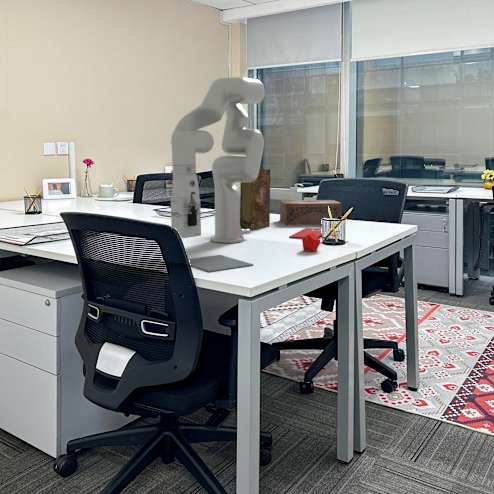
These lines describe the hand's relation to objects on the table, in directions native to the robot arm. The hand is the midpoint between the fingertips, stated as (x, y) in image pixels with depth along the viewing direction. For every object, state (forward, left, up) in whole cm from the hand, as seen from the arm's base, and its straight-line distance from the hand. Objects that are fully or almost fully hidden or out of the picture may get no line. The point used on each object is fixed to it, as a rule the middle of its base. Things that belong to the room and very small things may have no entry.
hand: (185, 223), depth 190 cm
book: (-55, -34, -10) cm, 65 cm away
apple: (-38, +19, -10) cm, 44 cm away
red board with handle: (-66, -6, -11) cm, 67 cm away
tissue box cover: (-86, -33, -11) cm, 93 cm away
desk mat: (+1, +18, -10) cm, 21 cm away
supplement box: (0, 0, -4) cm, 4 cm away
